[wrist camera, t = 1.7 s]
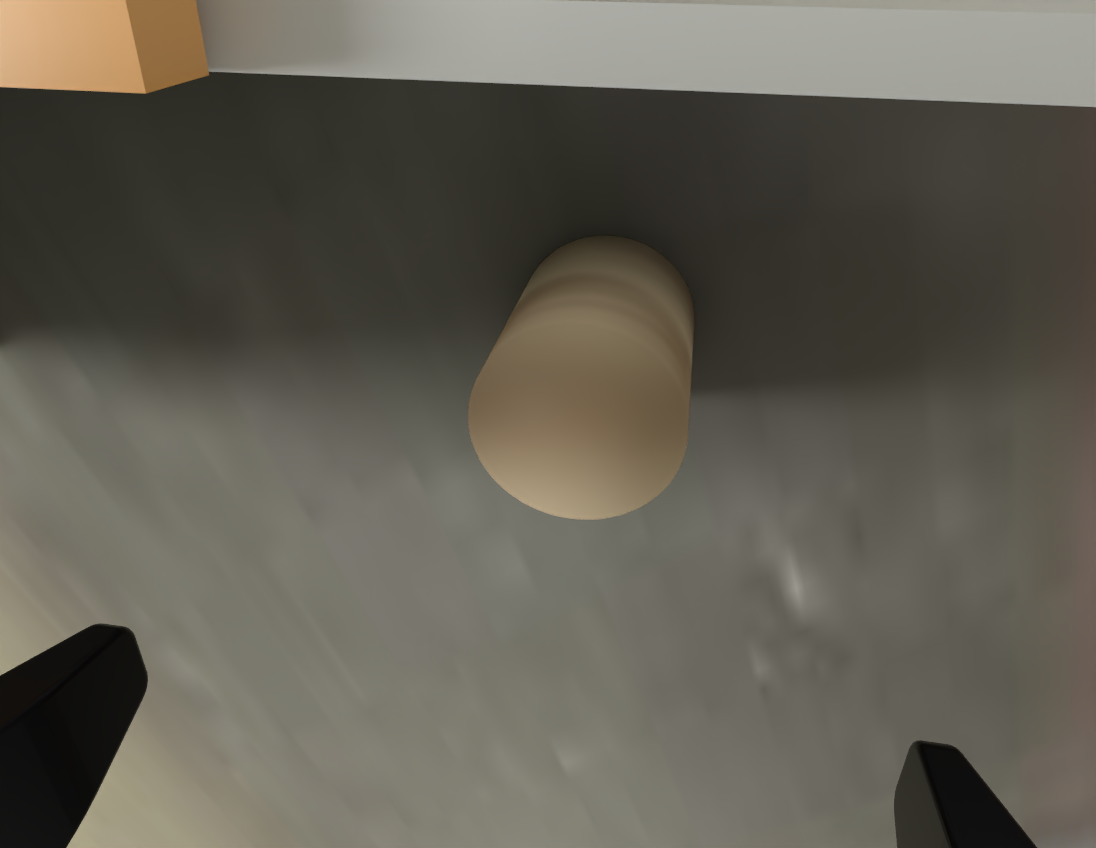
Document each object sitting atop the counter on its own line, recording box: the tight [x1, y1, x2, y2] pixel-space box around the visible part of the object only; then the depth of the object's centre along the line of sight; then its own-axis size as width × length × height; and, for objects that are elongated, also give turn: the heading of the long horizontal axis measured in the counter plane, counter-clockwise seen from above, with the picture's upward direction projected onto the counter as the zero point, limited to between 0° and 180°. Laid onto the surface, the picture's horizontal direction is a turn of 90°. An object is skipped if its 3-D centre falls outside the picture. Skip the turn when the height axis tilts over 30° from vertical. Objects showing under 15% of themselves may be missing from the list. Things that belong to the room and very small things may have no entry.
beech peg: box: [468, 236, 694, 520], centre depth 17 cm, size 4×4×5 cm
